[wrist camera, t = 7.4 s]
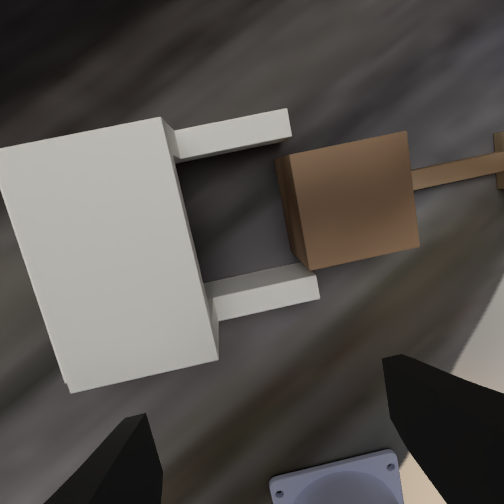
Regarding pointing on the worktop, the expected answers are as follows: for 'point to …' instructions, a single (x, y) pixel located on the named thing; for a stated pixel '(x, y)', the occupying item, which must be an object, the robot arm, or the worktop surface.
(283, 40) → the worktop surface
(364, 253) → the tethered block
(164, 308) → the cubby lane
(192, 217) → the worktop surface
